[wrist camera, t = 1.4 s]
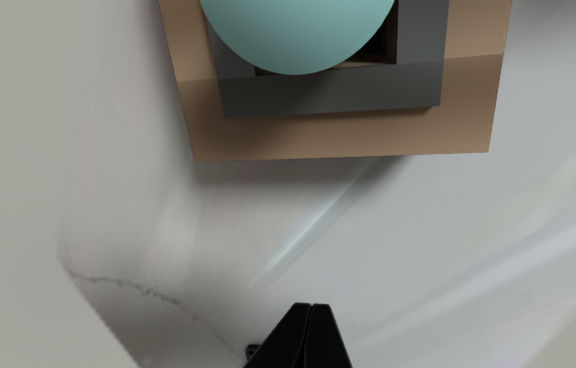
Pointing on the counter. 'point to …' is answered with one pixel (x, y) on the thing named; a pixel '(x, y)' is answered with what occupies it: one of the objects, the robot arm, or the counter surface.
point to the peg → (295, 30)
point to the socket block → (346, 88)
